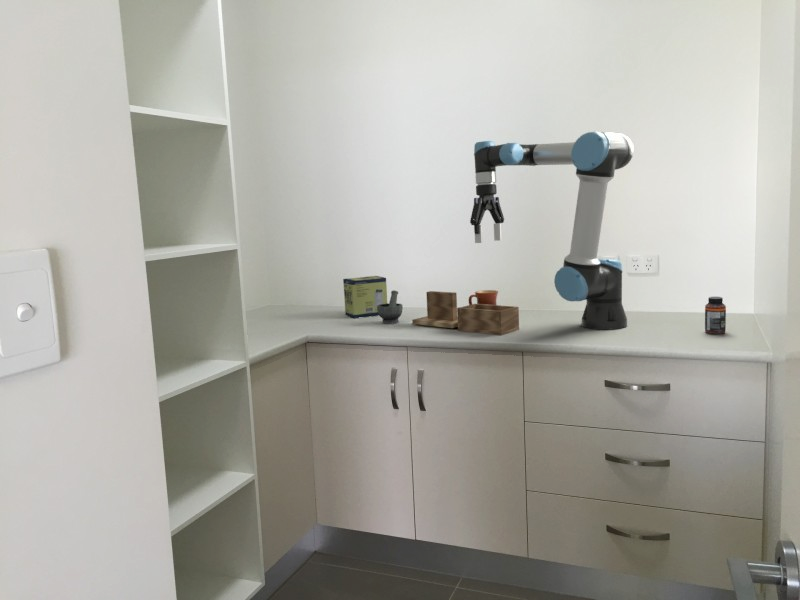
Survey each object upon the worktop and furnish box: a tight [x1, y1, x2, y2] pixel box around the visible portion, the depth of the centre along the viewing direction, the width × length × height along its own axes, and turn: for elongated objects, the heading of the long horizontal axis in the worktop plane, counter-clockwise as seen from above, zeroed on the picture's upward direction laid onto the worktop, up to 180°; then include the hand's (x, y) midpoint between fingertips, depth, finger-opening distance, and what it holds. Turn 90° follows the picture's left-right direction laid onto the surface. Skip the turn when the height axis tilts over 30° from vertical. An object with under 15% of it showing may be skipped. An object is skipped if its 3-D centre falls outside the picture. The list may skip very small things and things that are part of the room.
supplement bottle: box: [704, 296, 727, 335], centre depth 212 cm, size 6×6×11 cm
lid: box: [411, 290, 458, 329], centre depth 249 cm, size 19×12×12 cm, turn 48°
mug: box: [468, 289, 499, 305], centre depth 258 cm, size 12×9×10 cm
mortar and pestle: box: [377, 290, 404, 325], centre depth 259 cm, size 11×9×12 cm
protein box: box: [342, 275, 388, 319], centre depth 280 cm, size 10×16×16 cm
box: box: [457, 303, 520, 336], centre depth 234 cm, size 18×11×8 cm, turn 49°
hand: (488, 241), depth 252 cm, fingers open, 13 cm apart
